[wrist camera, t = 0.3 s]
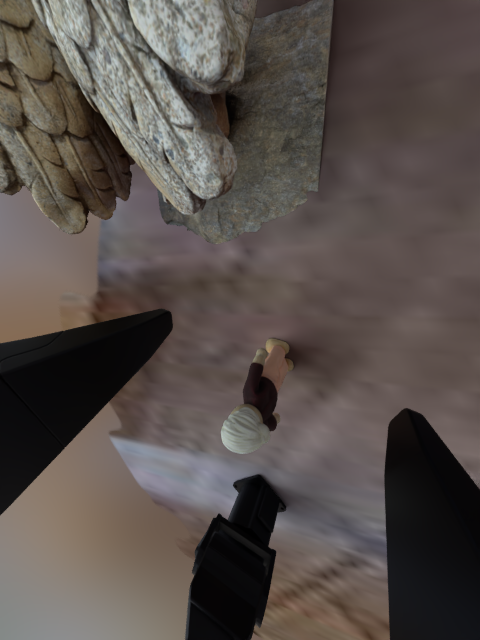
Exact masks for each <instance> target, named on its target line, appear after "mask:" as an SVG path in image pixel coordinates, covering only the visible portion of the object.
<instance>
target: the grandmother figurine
mask: <svg viewBox="0 0 480 640" xmlns="http://www.w3.org/2000/svg"><path fill="white" fill-rule="evenodd" d="M266 350H267V351H268V352H269V353H270V354H269V356H268V357H267V355H268V352H267V351H266ZM266 350H265V349H263V348H261V349H258V350H257V353H256V356H255V358H254V360H253V362H252V364H251V366H250V369H249V373H248V377H247V380H246V383H245V386H244V389H243V398H244V404H242V405H239V406H237V407H236V408H235V409H234V410H233V411H232V413H231V415H230V416H229V418H228V419H227V420H225V422H224V424H223V427H222V430H221V436H222V442H223V444H224V445H225V446H226V447H227V448H228V449H229V450H231V451H233V452H236V453H240V454H246V453H250V452H253V451H255V450H257V449H259V448H260V447H261V446H262V445H263V444H264V443H267V442H268V440H269V439H270V432H269V431H274V430H275V429H276V426H277V424H278V423H279V422H280V416H279V414H277V413H273V411H274V409H275V407H276V402H277V393H278V391H279V389H280V387H281V385H282V383H283V380H284V378H285V376H286V374H287V372H288V371H291V370H293V368H294V365H293V362H292V361H291V360H290V359H287V358H284V357H285V354H287V353H288V352H289V345H288V344H287V343H286V342H284V341H281V340H277V339H273V338H271V339H269V340H267V342H266Z"/></svg>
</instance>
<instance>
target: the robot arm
mask: <svg viewBox="0 0 480 640" xmlns="http://www.w3.org/2000/svg"><path fill="white" fill-rule="evenodd" d="M172 328H173V323H172V314H171V312H170V311H168V310H165V309H157V310H153V311H148V312H144V313H140V314H135V315H131V316H126V317H122V318H117V319H113V320H109V321H104V322H100V323H95V324H91V325H87V326H82V327H78V328H73V329H69V330H65V331H60V332H56V333H51V334H47V335H43V336H37V337H32V338H28V339H22V340H17V341H11V342H6V343H0V515H1V514H2V513H3V512H4V511H5V510H6V509H7V508H8V507H9V506H10V505H11V504H12V503H13V502H14V501H15V500H16V499H17V498H18V497H19V496H20V495H21V493H22V492H23V491H24V490H25V489H26V488H27V487H28V486H29V485H30V484H31V483H32V482H33V481H34V480H35V479H36V478H37V476H39V475H40V474H41V472H42V471H43V470H44V469H45V468H46V467H47V466H48V465H49V464H50V463H51V462H52V461H53V460H54V459H55V458H56V457H57V456H58V455H59V454H60V453H61V451H62V450H63V449H64V448H65V447H66V446H67V445H68V444H69V443H70V442H71V441H72V440H73V439H74V438H75V437H76V435H77V434H78V433H79V432H80V431H81V430H82V429H83V428H84V427H85V426H86V425H87V424H88V423H89V422H90V421H91V420H92V419H93V418H94V417H95V416H96V415H97V414H98V413H99V411H100V410H101V409H102V408H103V407H104V406H105V405H106V404H107V403H108V402H109V401H110V400H111V399H112V398H113V397H114V396H115V395H116V394H117V393H118V392H119V391H120V389H121V388H122V387H123V386H124V385H125V384H126V383H127V382H128V381H129V380H130V379H131V378H132V377H133V376H134V375H135V374H136V373H137V372H138V371H139V370H140V369H141V367H142V366H143V365H144V364H145V363H146V362H147V361H148V360H149V359H150V358H151V357H152V355H153V354H154V353H155V352H156V350H157V349H158V348H159V347H160V345H161V344H162V343H163V341H164V340H165V339H166V338H167V336H168V335H169V334H170V332H171V331H172ZM384 477H385V510H386V538H387V567H388V595H389V623H390V640H480V489H479V488H478V487H477V485H476V484H475V483H474V481H473V480H472V479H471V478H470V476H469V475H468V474H467V472H466V471H465V470H464V468H463V467H462V466H461V464H460V463H459V462H458V461H457V459H456V458H455V457H454V455H453V454H452V453H451V451H450V450H449V449H448V447H447V446H446V445H445V443H444V442H443V441H442V440H441V438H440V437H439V436H438V434H437V433H436V432H435V430H434V429H433V428H432V426H431V425H430V424H429V423H428V421H427V420H426V419H425V417H424V416H423V415H422V414H420V413H418V412H416V411H413V410H411V409H408V408H405V409H403V410H402V411H401V412H400V413H399V414H398V415H396V416H395V417H394V418H393V419H392V420H391V422H390V423H389V427H388V437H387V449H386V460H385V474H384ZM233 486H234V488H235V489H236V490H237V491H238V493H239V494H238V496H237V499H236V501H235V503H234V506H233V508H232V511H231V513H230V516H229V518H228V520H227V519H225V518H224V517H222V515H221V514H218V515H217V517H216V518H213V520H212V522H211V524H210V526H209V528H208V530H207V532H206V534H205V535H204V537H203V538H202V540H201V541H200V543H199V544H198V546H197V548H196V550H195V562H194V567H193V570H192V573H193V574H194V578H193V580H192V582H191V585H190V590H189V599H188V608H187V621H186V634H185V640H251V638H252V634H253V630H254V626H255V625H257V626H258V627H259V628H260V627H261V624H262V620H263V617H264V613H265V608H266V604H267V600H268V595H269V590H270V584H271V579H272V573H273V568H274V562H275V557H276V551H275V550H274V549H271V548H269V547H268V545H269V541H270V537H271V533H272V532H273V529H274V525H275V521H276V517H277V513H278V512H284V511H286V506H285V504H284V503H283V502H282V501H281V500H280V498H279V497H278V496H277V495H276V494H275V492H274V491H273V490H272V489H271V488H270V486H269V485H268V484H267V483H266V482H265V480H264V479H263V478H262V477H261V476H260V475H255V476H252V477H249V478H246V479H242V480H239V481H236V482H234V484H233Z"/></svg>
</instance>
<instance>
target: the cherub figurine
mask: <svg viewBox="0 0 480 640" xmlns="http://www.w3.org/2000/svg"><path fill="white" fill-rule="evenodd" d="M256 6H257V0H0V193H5V194H8V195H13V194H15V193H17V192H19V191H20V190H21V188H22V186H26V187H27V188H28V190H29V191H30V192H31V193H32V196H33V198H34V200H35V202H36V203H37V205H38V207H39V208H40V210H41V211H42V212H43V213H44V214H45V215H46V216H47V217H48V218H49V219H50V220H51V221H52V222H53V223H55V224H56V225H57V227H58V228H59V229H61V230H62V231H64V232H66V233H68V234H79V233H81V232H82V231H83V230H84V229H85V228H86V225H87V223H88V221H87V217H88V216H87V215H88V213H89V211H90V212H91V213H92V214H94V215H95V216H97V217H99V218H101V219H104V220H108V219H110V218H111V217H112V215H113V211H114V210H115V209H116V200H115V199H116V197H119V198H121V199H122V200H124V201H126V200H128V198H129V195H130V186H131V178H132V173H131V171H130V165H133V164H135V162H136V163H137V164H138V165H139V166H140V168H141V169H142V170H143V171H144V172H145V173H146V174H147V175H148V177H149V178H150V180H151V181H152V182H153V183H154V185H155V186H156V187H157V190H158V197H159V206H160V211H161V215H162V218H163V220H164V221H165V223H166V224H171V225H177V226H182V225H184V226H186V227H187V231H188V230H189V231H190V230H191V231H192V232H194V233H195V234H197V235H200V236H201V237H203V238H204V239H205V240H206V241H207V242H210V243H213V244H219V243H221V242H227V241H230V240H231V239H233V238H237V237H238V235H239V234H241V233H243V232H244V231H246V232H251V231H252V232H255V231H258V230H259V229H260V228H261V224H262V222H268V221H269V220H272V219H273V220H274V219H275V218H277V217H278V216H280V217H282V216H285V215H286V214H288V213H290V212H291V211H293V210H295V209H297V207H298V205H301V204H303V203H304V202H305V201H306V200H307V199H308V198H306V195H307V191H311V190H313V191H315V192H317V191H318V184H319V173H320V162H321V150H322V138H323V126H324V114H325V102H326V90H327V78H328V66H329V54H330V42H331V30H332V18H333V6H334V0H311V1H310V2H308V3H305V4H303V5H302V6H294V7H291V8H290V9H286V10H283V11H279V12H275V13H273V14H271V15H269V16H266V17H263V18H255V14H256Z"/></svg>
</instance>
